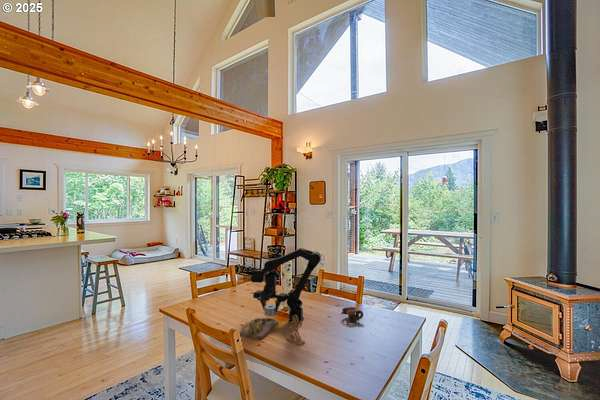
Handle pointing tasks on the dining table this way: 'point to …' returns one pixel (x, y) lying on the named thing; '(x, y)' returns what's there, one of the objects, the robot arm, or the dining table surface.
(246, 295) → the dining table surface
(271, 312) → the loose gear
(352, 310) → the pottery mug
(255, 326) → the gear board
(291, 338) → the gingerbread man figurine
